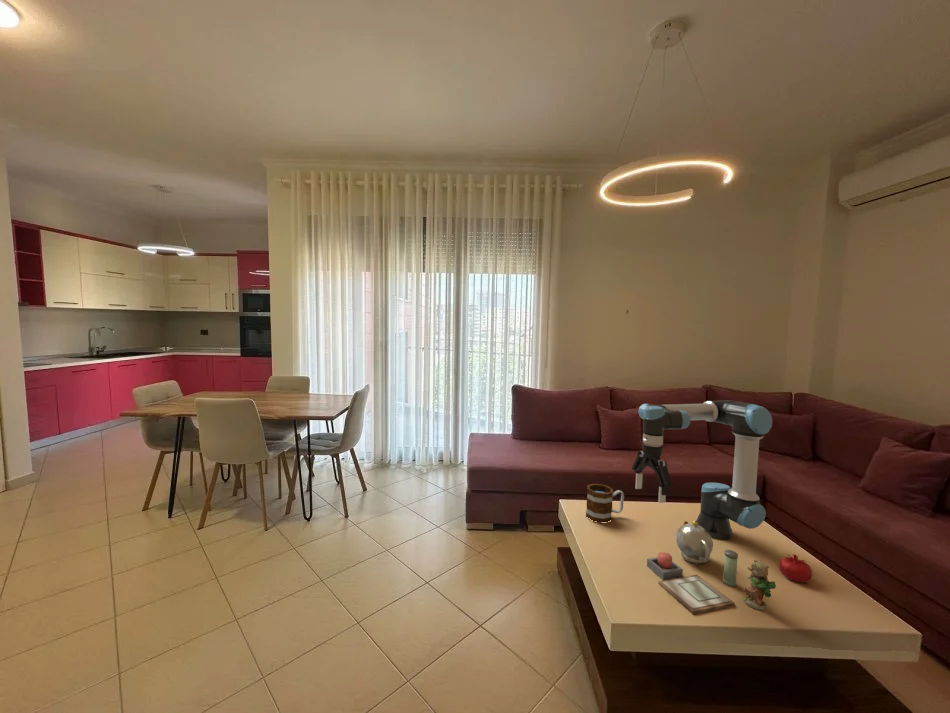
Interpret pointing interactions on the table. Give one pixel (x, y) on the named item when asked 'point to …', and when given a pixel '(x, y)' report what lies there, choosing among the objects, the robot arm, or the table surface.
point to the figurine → (758, 586)
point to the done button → (664, 560)
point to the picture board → (696, 594)
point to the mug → (601, 502)
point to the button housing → (664, 574)
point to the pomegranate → (795, 569)
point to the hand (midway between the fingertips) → (649, 495)
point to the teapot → (694, 542)
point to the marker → (730, 568)
